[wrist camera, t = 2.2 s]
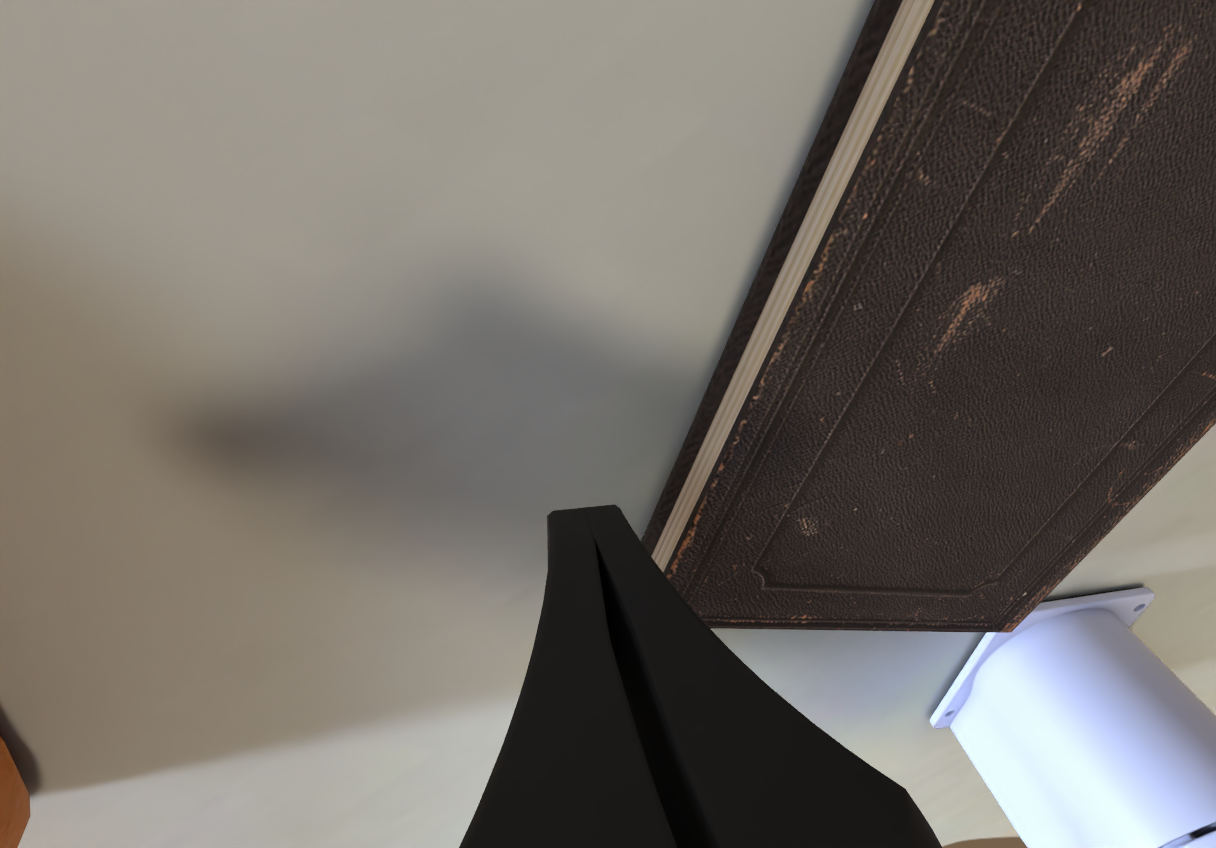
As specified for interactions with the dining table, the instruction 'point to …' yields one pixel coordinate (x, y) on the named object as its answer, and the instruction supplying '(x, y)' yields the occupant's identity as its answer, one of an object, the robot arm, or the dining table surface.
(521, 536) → the dining table surface
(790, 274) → the hardcover book
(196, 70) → the dining table surface
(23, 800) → the bread
